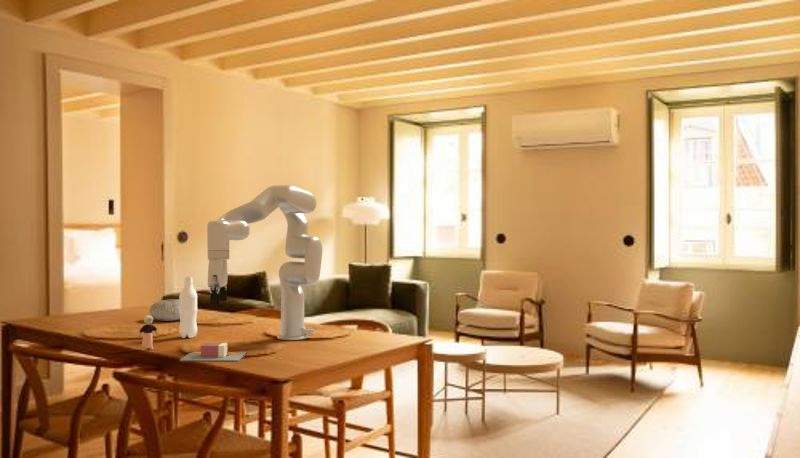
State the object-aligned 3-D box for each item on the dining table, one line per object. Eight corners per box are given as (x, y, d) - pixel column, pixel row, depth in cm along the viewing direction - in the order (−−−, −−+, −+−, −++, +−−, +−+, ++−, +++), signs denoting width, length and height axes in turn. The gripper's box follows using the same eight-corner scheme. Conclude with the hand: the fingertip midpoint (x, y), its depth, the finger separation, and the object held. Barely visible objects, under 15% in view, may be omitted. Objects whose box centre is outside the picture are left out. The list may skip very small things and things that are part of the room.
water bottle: (191, 339, 262) (192, 277, 261) (175, 338, 263) (175, 277, 263) (200, 336, 269) (200, 276, 268) (184, 335, 270) (185, 275, 270)
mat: (246, 353, 235) (246, 351, 235) (237, 361, 221) (237, 360, 221) (192, 352, 235) (192, 351, 235) (179, 361, 221) (179, 359, 221)
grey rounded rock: (143, 322, 301) (143, 301, 301) (157, 317, 319) (157, 297, 319) (181, 323, 302) (181, 302, 301) (193, 317, 319) (193, 297, 319)
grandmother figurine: (142, 351, 236) (143, 317, 236) (136, 350, 238) (136, 316, 238) (160, 348, 243) (160, 314, 243) (154, 347, 245) (154, 313, 245)
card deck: (204, 354, 231) (205, 343, 231) (227, 354, 231) (227, 343, 231) (201, 357, 226) (201, 345, 226) (223, 357, 226) (224, 345, 226)
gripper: (214, 253, 238) (214, 299, 239) (200, 257, 221) (201, 306, 222) (234, 253, 239) (235, 299, 239) (222, 256, 221) (223, 306, 222)
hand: (218, 302), depth 230 cm, fingers open, 9 cm apart
